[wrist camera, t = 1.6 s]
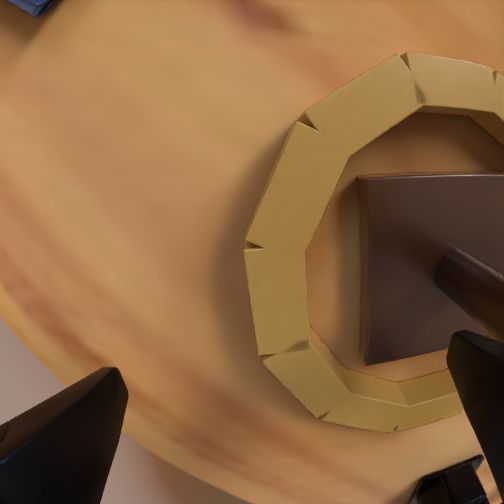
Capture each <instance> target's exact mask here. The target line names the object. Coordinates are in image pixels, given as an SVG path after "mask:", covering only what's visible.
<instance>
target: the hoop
mask: <svg viewBox="0 0 504 504" xmlns="http://www.w3.org/2000/svg"><path fill="white" fill-rule="evenodd" d="M414 112H426V113H442V114H455V115H466V116H469V117H471V118H472V119H473V120H474V121H475V122H477V123H478V124H479V125H480V126H481V127H483V128H484V129H485V130H486V131H487V132H488V133H489V134H491V135H492V136H493V137H494V138H495V139H496V140H497V141H498V142H499V143H500V144H502V145H503V146H504V76H503V75H502V74H501V73H499V72H498V71H494V72H492V68H491V67H490V66H486V65H482V64H478V63H473V62H468V61H464V60H458V59H453V58H447V57H441V56H435V55H428V54H420V53H412V52H406V53H404V54H403V55H401V56H399V55H398V54H396V55H394V56H392V57H390V58H389V59H387V60H385V61H383V62H382V63H380V64H378V65H377V66H375V67H373V68H372V69H370V70H368V71H367V72H365V73H363V74H362V75H360V76H358V77H357V78H355V79H354V80H352V81H350V82H349V83H347V84H346V85H344V86H343V87H341V88H339V89H338V90H336V91H335V92H333V93H332V94H330V95H329V96H327V97H325V98H324V99H322V100H321V101H319V102H318V103H316V104H315V105H313V106H312V107H310V108H309V109H307V110H306V111H305V112H304V113H303V114H302V115H301V116H300V117H299V118H298V121H299V122H298V121H296V122H295V123H294V125H293V126H292V127H291V128H290V130H289V133H288V135H287V137H286V139H285V142H284V144H283V146H282V148H281V151H280V153H279V155H278V158H277V160H276V162H275V164H274V167H273V169H272V171H271V174H270V176H269V178H268V181H267V183H266V185H265V187H264V190H263V192H262V194H261V197H260V199H259V201H258V204H257V206H256V208H255V211H254V213H253V215H252V218H251V220H250V222H249V225H248V228H247V232H246V236H245V240H246V241H245V245H244V250H243V255H244V263H245V270H246V277H247V284H248V291H249V298H250V305H251V311H252V318H253V325H254V332H255V339H256V346H257V352H258V355H262V363H263V364H264V365H265V366H266V367H267V369H268V370H269V371H270V372H271V373H272V374H273V375H274V376H275V377H276V378H277V379H278V380H279V381H280V382H281V383H282V384H283V385H284V386H285V387H286V388H287V389H288V390H289V391H290V392H291V393H292V394H293V395H294V396H295V397H296V398H297V399H298V400H299V401H300V402H301V403H302V404H303V405H304V406H305V407H306V408H307V409H308V410H309V411H310V412H311V413H312V414H313V415H314V416H315V417H316V418H317V417H319V416H321V417H322V420H323V421H326V422H331V423H335V424H340V425H345V426H350V427H355V428H361V429H366V430H372V431H378V432H384V433H390V432H391V431H392V430H393V429H394V430H395V432H401V431H405V430H408V429H412V428H416V427H419V426H422V425H426V424H429V423H432V422H436V421H439V420H442V419H445V418H448V417H451V416H454V415H456V414H459V413H461V412H462V409H463V405H462V403H461V400H460V398H459V395H458V392H457V389H456V387H455V384H454V381H453V379H452V376H451V374H450V371H449V369H447V370H444V371H440V372H437V373H433V374H429V375H426V376H422V377H418V378H414V379H410V380H405V381H401V382H397V383H396V382H392V381H389V380H385V379H381V378H378V377H374V376H371V375H367V374H364V373H360V372H357V371H354V370H350V369H347V368H344V367H343V366H342V365H341V364H340V363H339V361H338V360H337V359H336V358H335V356H334V355H333V354H332V352H331V351H330V350H329V349H328V347H327V346H326V345H325V344H324V342H323V341H322V340H321V338H320V337H319V336H318V335H317V333H316V332H315V331H314V330H313V328H312V327H311V326H310V324H309V316H308V299H307V284H306V270H305V257H304V253H305V251H306V249H307V247H308V245H309V243H310V241H311V239H312V237H313V235H314V233H315V230H316V228H317V226H318V224H319V222H320V220H321V218H322V216H323V214H324V211H325V209H326V207H327V205H328V203H329V201H330V198H331V196H332V194H333V192H334V190H335V187H336V185H337V183H338V181H339V179H340V176H341V174H342V172H343V170H344V167H345V165H346V163H347V161H348V158H349V157H350V156H352V155H353V154H355V153H356V152H357V151H359V150H360V149H362V148H363V147H365V146H366V145H367V144H369V143H370V142H372V141H373V140H375V139H376V138H378V137H379V136H380V135H382V134H383V133H385V132H386V131H388V130H389V129H391V128H392V127H393V126H395V125H396V124H398V123H399V122H401V121H402V120H404V119H405V118H406V117H408V116H409V115H411V114H412V113H414ZM489 338H491V339H493V338H492V337H491V336H490V337H489Z"/></svg>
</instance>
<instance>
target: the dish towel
mask: <svg viewBox="0 0 504 504" xmlns="http://www.w3.org/2000/svg"><path fill="white" fill-rule="evenodd" d="M5 1H7V2H10V3H12V4H14V5H15V6H17V7H19V8H21V9H23V10H24V11H26V12H28V13H29V14H31V15H32V16H33V17H35V18H39V17H40V16H42V15H43V14H44V13H45V12H46V11H47V10H48V9H49V8H50V7H51V5H52V4H53V3H54V2H55V0H5Z"/></svg>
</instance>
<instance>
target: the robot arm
mask: <svg viewBox="0 0 504 504" xmlns="http://www.w3.org/2000/svg"><path fill="white" fill-rule="evenodd" d="M447 366H448V369H449V371H450V374H451V376H452V379H453V381H454V384H455V387H456V389H457V392H458V395H459V398H460V400H461V403H462V405H463V408H464V410H465V412H466V415H467V417H468V419H469V421H470V423H471V425H472V427H473V430H474V432H475V434H476V436H477V438H478V441H479V443H480V445H481V448H482V450H483V452H484V455H485V457H486V459H487V462H488V464H489V467H490V469H491V472H492V474H493V477H494V480H495V482H496V485H497V488H498V490H499V493H500V496H501V499H502V503H501V504H504V343H502V342H499V341H496V340H494V339H491V338H488V337H485V336H483V335H480V334H477V333H474V332H472V331H469V330H461V331H457V332H454V333H453V334H452V336H451V340H450V345H449V349H448V354H447ZM127 402H128V389H127V387H126V385H125V382H124V380H123V378H122V375H121V373H120V371H119V369H118V368H116V367H102V368H101V369H99V370H97V371H95V372H94V373H92V374H90V375H89V376H87V377H85V378H83V379H82V380H80V381H78V382H76V383H75V384H73V385H71V386H70V387H68V388H66V389H64V390H63V391H61V392H59V393H57V394H56V395H54V396H52V397H50V398H49V399H47V400H45V401H43V402H42V403H40V404H38V405H36V406H34V407H33V408H31V409H29V410H27V411H25V412H24V413H22V414H20V415H18V416H17V417H15V418H13V419H11V420H10V422H9V421H7V422H6V423H4V424H2V425H0V504H100V501H101V498H102V494H103V491H104V488H105V484H106V481H107V478H108V475H109V471H110V468H111V465H112V461H113V458H114V455H115V452H116V449H117V446H118V442H119V439H120V434H121V429H122V425H123V420H124V415H125V411H126V406H127ZM483 460H484V457H483V455H482V454H481V455H479V456H477V457H474V458H472V459H470V460H467V461H465V462H463V463H460V464H458V465H455V466H453V467H450V468H447V469H445V470H442V471H439V472H437V473H434V474H431V475H428V476H425V477H423V478H422V479H421V480H420V481H419V483H418V485H417V487H416V489H415V491H414V493H413V494H412V496H411V498H410V500H409V501H408V503H407V504H490V503H489V501H488V499H487V496H486V492H485V490H484V488H483V486H482V484H481V482H480V480H479V478H478V475H477V473H476V470H477V469H478V467H479V466H480V464H481V463H482V461H483Z"/></svg>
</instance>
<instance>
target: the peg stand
mask: <svg viewBox="0 0 504 504" xmlns="http://www.w3.org/2000/svg"><path fill="white" fill-rule="evenodd" d="M357 181H358V194H359V210H360V232H361V328H360V349H359V352H360V354H361V356H362V359H363V361H364V363H365V365H366V366H368V365H374V364H379V363H384V362H389V361H394V360H399V359H403V358H408V357H413V356H417V355H421V354H425V353H429V352H433V351H437V350H441V349H445V348H449V345H450V340H451V336H452V334H453V333H454V332H457V331H461V330H469V331H472V332H474V333H477V334H480V335H483V336H485V337H486V336H489V335H490V336H491V337H492V338H493V339H494V340H496V341H499V342H502V343H504V172H420V173H396V174H377V175H361V176H358V178H357Z"/></svg>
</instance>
